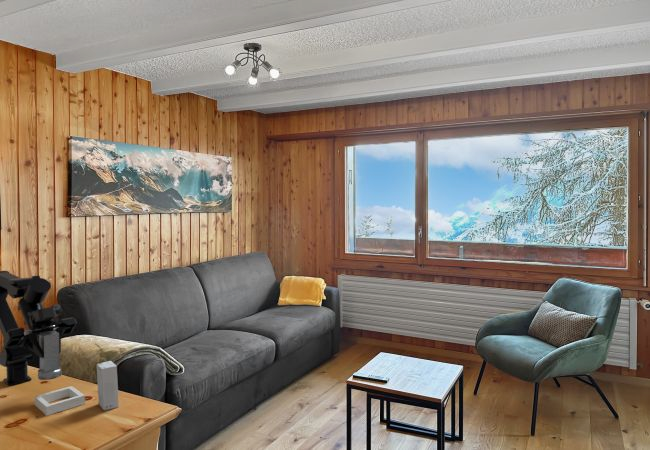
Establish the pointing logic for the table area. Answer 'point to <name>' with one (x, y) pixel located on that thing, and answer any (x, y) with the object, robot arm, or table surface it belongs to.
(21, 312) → the robot arm
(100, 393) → the skincare box
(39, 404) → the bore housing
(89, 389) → the table surface
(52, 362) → the end cover
